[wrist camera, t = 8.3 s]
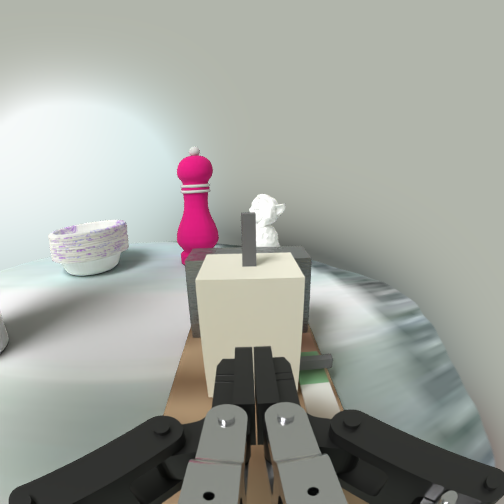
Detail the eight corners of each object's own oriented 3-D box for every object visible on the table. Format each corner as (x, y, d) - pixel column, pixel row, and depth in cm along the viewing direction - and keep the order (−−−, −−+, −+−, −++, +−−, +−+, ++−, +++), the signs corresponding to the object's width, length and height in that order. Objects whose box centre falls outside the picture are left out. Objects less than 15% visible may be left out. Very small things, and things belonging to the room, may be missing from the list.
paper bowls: (66, 261, 53) (61, 224, 51) (133, 254, 58) (129, 216, 56) (44, 286, 39) (35, 238, 37) (128, 277, 44) (122, 228, 42)
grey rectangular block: (307, 334, 25) (311, 257, 23) (192, 337, 25) (184, 260, 23) (299, 314, 29) (302, 246, 27) (198, 317, 29) (192, 248, 27)
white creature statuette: (217, 273, 45) (214, 195, 42) (254, 261, 52) (253, 191, 49) (265, 288, 39) (264, 197, 36) (301, 272, 45) (302, 193, 42)
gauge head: (339, 390, 17) (359, 219, 14) (208, 397, 17) (191, 221, 14) (322, 350, 22) (332, 207, 19) (214, 354, 22) (204, 209, 19)
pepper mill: (215, 267, 48) (211, 143, 43) (173, 267, 49) (167, 146, 44) (222, 256, 55) (218, 147, 50) (185, 256, 56) (179, 149, 51)
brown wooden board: (376, 527, 8) (385, 517, 8) (140, 536, 8) (131, 527, 7) (304, 324, 29) (304, 312, 29) (195, 327, 29) (193, 315, 29)
